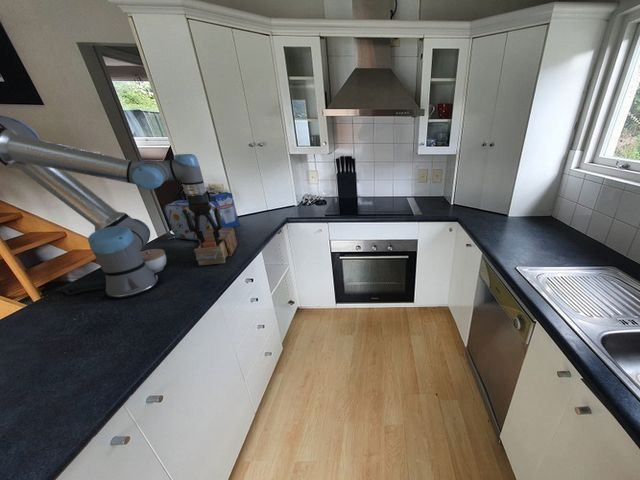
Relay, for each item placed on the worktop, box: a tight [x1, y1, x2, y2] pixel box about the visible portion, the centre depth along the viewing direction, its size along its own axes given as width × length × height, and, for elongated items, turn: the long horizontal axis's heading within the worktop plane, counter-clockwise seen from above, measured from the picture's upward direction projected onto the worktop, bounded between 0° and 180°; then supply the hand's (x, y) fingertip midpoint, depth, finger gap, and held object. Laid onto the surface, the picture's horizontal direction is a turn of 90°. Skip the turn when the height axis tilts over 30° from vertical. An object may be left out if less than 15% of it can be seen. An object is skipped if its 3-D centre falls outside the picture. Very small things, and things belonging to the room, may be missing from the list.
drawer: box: [193, 240, 228, 266], centre depth 124 cm, size 18×10×8 cm, turn 15°
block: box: [202, 239, 219, 248], centre depth 124 cm, size 5×5×5 cm
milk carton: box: [208, 191, 240, 228], centre depth 164 cm, size 10×6×20 cm, turn 148°
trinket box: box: [140, 248, 167, 274], centre depth 116 cm, size 11×11×9 cm
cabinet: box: [198, 227, 238, 258], centre depth 134 cm, size 15×12×10 cm
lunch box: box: [163, 199, 224, 241], centre depth 146 cm, size 28×10×22 cm, turn 85°
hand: (211, 244), depth 123 cm, fingers closed on block, 5 cm apart
